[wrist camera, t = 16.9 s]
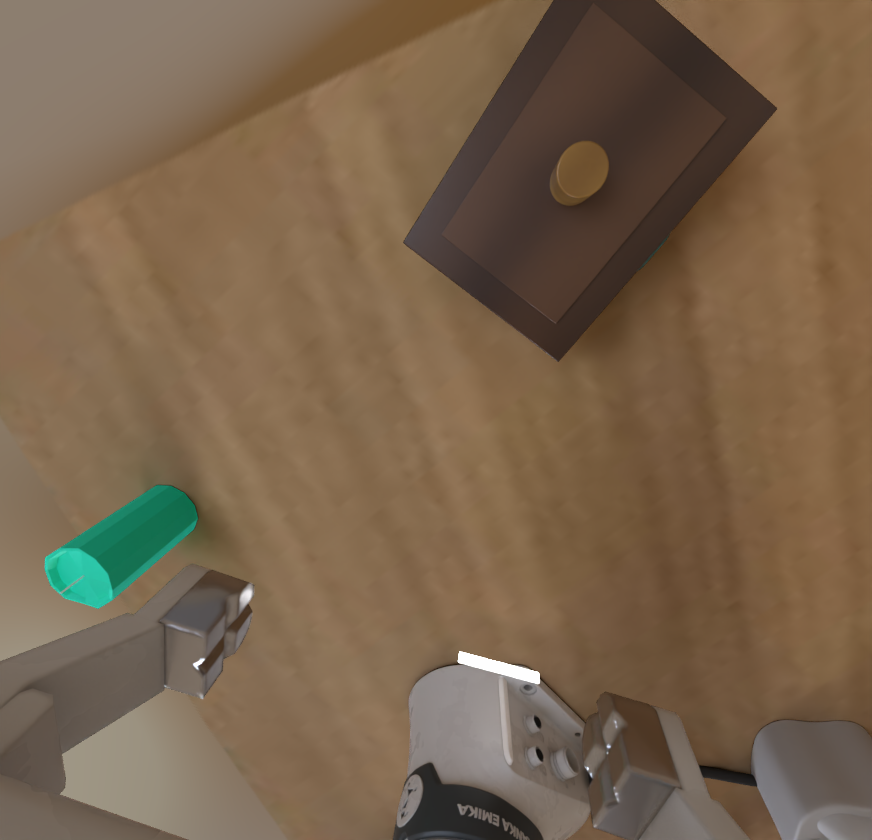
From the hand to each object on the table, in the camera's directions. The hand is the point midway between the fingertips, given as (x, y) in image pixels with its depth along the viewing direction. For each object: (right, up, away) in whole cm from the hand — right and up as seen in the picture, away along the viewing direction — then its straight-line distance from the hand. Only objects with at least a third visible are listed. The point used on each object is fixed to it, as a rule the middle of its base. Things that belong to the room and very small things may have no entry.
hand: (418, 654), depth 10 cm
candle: (-27, -4, +35) cm, 44 cm away
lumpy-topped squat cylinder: (+38, -30, +34) cm, 59 cm away
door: (+8, +19, +15) cm, 25 cm away
